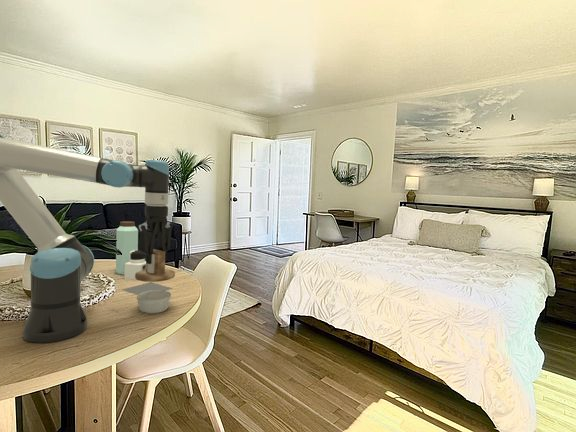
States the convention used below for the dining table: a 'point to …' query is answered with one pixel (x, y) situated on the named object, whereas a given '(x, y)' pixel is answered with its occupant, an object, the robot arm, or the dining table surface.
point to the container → (135, 264)
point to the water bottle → (125, 244)
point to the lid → (156, 270)
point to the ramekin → (154, 301)
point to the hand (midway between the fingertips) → (155, 271)
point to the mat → (146, 288)
